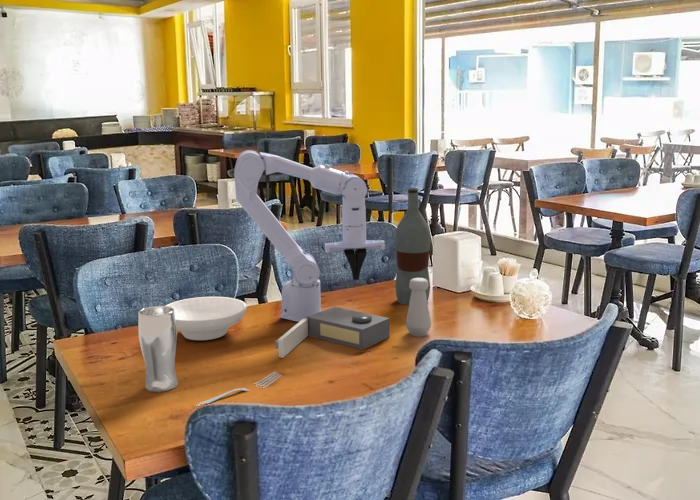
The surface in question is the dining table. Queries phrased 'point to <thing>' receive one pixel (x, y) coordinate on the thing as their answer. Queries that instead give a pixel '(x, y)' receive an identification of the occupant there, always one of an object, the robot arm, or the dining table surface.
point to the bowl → (207, 316)
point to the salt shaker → (418, 308)
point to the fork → (244, 388)
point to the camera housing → (348, 327)
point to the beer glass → (158, 347)
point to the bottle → (411, 249)
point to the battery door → (292, 338)
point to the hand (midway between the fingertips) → (355, 278)
